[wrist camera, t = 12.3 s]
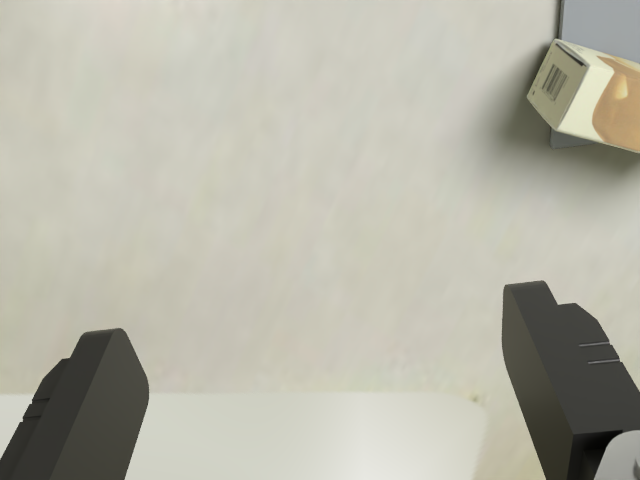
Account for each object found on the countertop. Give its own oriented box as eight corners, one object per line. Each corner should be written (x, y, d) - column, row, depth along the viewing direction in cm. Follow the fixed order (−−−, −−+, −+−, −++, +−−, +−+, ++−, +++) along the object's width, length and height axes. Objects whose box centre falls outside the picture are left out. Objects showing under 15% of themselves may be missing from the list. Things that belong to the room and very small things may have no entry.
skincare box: (551, 35, 37) (712, 80, 39) (522, 97, 40) (674, 138, 42) (593, 65, 32) (776, 116, 34) (556, 135, 34) (729, 179, 36)
